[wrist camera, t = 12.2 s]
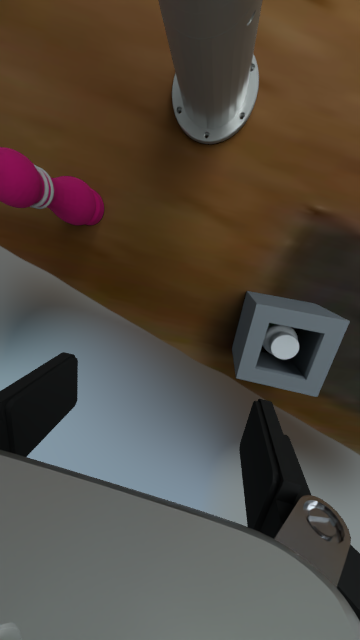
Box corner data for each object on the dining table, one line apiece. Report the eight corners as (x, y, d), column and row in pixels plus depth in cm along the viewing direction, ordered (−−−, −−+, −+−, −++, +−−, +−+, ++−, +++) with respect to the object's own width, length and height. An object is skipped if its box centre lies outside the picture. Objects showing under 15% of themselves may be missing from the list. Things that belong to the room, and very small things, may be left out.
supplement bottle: (271, 307, 40) (287, 323, 31) (291, 327, 40) (313, 348, 31) (249, 326, 42) (258, 346, 33) (268, 345, 42) (282, 370, 33)
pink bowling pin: (70, 223, 42) (-51, 198, 23) (72, 182, 40) (-61, 115, 21) (104, 231, 41) (9, 211, 22) (108, 189, 39) (5, 128, 20)
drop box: (246, 291, 40) (256, 303, 30) (314, 303, 39) (349, 321, 28) (231, 348, 44) (236, 378, 33) (293, 362, 42) (317, 396, 32)
